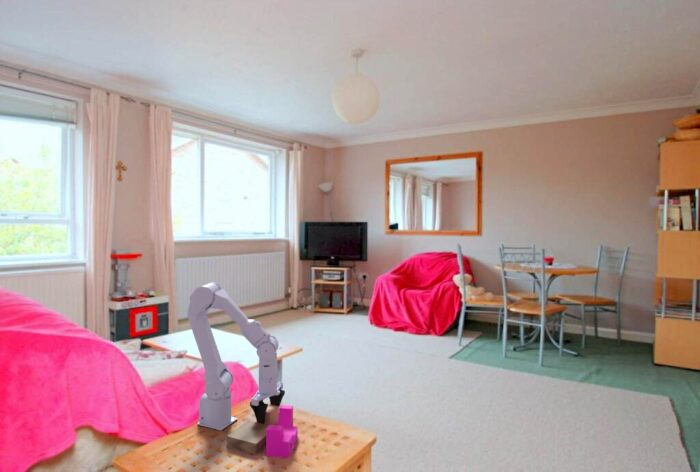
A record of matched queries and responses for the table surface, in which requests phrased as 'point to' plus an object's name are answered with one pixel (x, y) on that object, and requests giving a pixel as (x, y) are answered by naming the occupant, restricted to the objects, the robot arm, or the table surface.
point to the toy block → (282, 434)
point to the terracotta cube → (271, 415)
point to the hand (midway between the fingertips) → (267, 418)
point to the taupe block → (248, 437)
